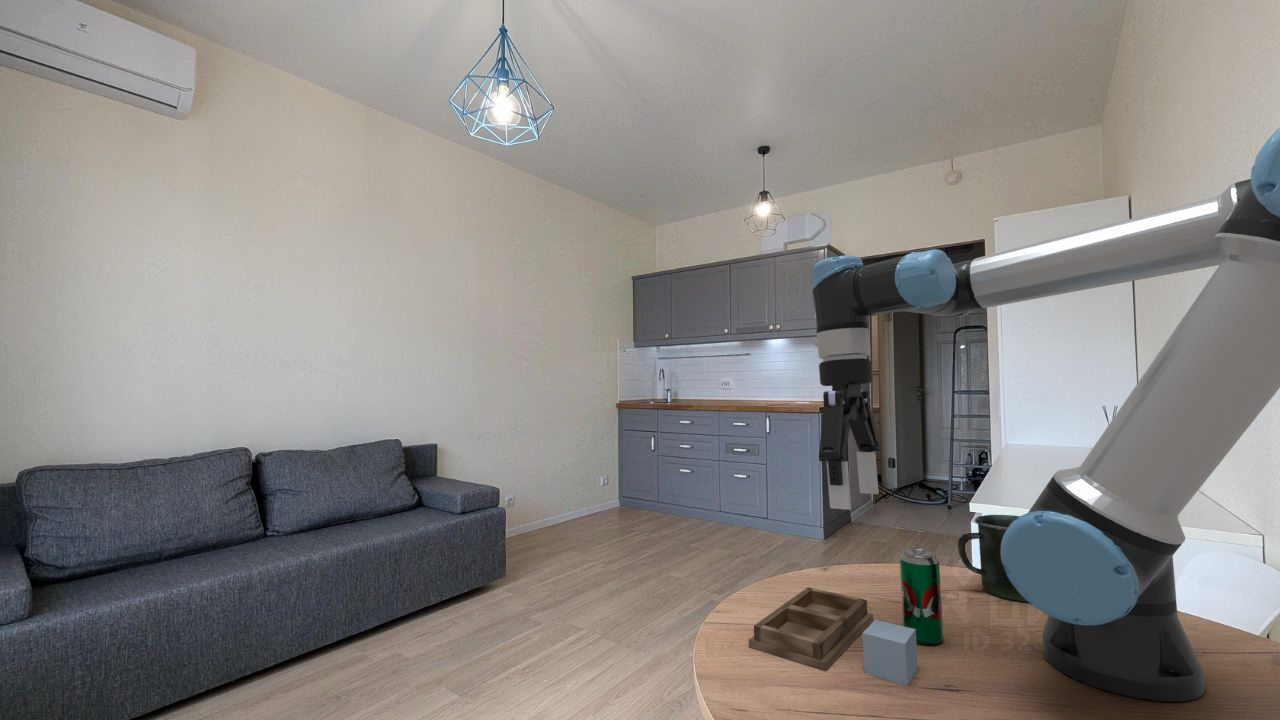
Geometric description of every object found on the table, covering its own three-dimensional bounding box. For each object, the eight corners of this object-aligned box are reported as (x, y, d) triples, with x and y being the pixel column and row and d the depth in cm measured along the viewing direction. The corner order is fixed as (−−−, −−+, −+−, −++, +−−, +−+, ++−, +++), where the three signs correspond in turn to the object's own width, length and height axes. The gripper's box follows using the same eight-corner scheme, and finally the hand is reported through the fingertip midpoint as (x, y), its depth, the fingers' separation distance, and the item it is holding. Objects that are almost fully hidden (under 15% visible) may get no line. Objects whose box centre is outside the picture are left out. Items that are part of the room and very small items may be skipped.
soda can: (944, 635, 79) (939, 550, 79) (942, 649, 74) (937, 560, 75) (905, 627, 81) (901, 545, 82) (901, 641, 77) (896, 555, 78)
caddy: (873, 620, 84) (872, 600, 84) (825, 670, 70) (824, 646, 70) (804, 604, 91) (804, 585, 91) (748, 646, 77) (748, 624, 77)
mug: (1073, 605, 88) (1068, 529, 88) (976, 603, 90) (971, 529, 90) (1034, 582, 98) (1030, 514, 99) (948, 580, 100) (944, 514, 101)
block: (917, 669, 70) (915, 629, 70) (907, 686, 66) (904, 643, 66) (876, 658, 73) (874, 619, 73) (864, 673, 69) (862, 633, 69)
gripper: (846, 363, 96) (856, 486, 94) (787, 358, 76) (798, 513, 74) (891, 359, 91) (903, 489, 89) (841, 353, 71) (855, 518, 70)
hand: (855, 500), depth 82 cm, fingers open, 13 cm apart
